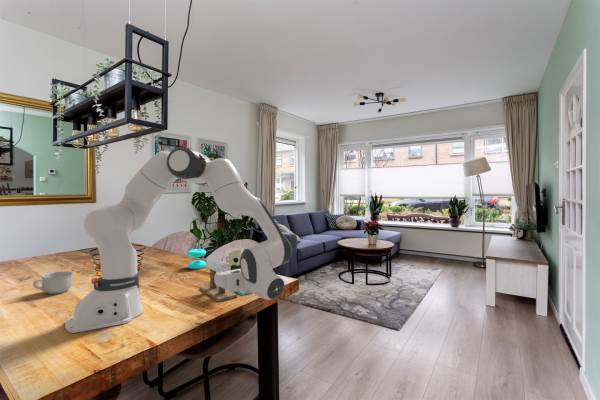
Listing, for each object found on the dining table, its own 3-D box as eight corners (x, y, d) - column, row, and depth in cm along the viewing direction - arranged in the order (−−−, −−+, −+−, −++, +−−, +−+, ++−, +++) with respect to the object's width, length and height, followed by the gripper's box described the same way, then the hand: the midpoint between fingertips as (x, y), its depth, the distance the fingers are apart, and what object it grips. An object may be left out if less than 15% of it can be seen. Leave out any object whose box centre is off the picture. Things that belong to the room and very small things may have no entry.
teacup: (68, 286, 137) (68, 269, 137) (77, 290, 131) (77, 273, 131) (28, 295, 126) (28, 276, 126) (36, 300, 120) (35, 280, 119)
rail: (222, 274, 120) (222, 264, 119) (206, 267, 132) (206, 258, 132) (229, 273, 121) (229, 263, 121) (213, 266, 134) (212, 257, 134)
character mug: (229, 280, 146) (229, 254, 145) (223, 277, 151) (222, 251, 151) (248, 276, 153) (248, 251, 152) (242, 273, 158) (241, 249, 158)
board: (242, 295, 124) (242, 292, 124) (222, 284, 138) (222, 282, 138) (260, 290, 130) (260, 288, 130) (239, 281, 144) (239, 278, 144)
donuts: (194, 252, 164) (184, 250, 170) (195, 270, 164) (184, 268, 170) (209, 249, 172) (199, 248, 178) (209, 266, 172) (199, 264, 178)
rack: (219, 302, 117) (218, 276, 116) (199, 289, 132) (199, 267, 132) (237, 297, 122) (237, 273, 122) (216, 285, 137) (216, 264, 137)
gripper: (274, 264, 112) (255, 258, 123) (224, 275, 99) (207, 267, 110) (274, 281, 112) (255, 273, 123) (225, 293, 99) (208, 284, 110)
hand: (232, 270), depth 116 cm, fingers open, 8 cm apart
